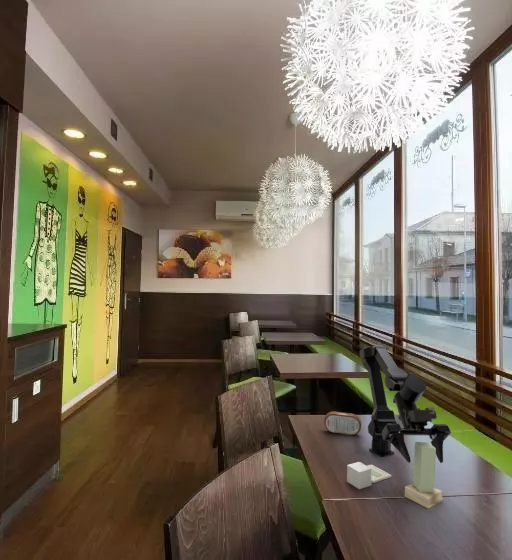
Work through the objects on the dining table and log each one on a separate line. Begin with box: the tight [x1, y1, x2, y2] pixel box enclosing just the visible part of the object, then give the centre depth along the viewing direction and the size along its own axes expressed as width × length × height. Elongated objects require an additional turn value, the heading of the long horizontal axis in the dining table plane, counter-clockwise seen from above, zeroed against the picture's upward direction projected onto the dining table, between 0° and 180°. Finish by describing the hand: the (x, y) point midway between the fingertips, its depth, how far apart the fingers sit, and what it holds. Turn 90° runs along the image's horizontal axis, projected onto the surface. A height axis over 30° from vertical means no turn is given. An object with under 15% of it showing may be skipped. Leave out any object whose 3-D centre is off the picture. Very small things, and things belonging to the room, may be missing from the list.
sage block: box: [412, 441, 437, 492], centre depth 102 cm, size 4×4×12 cm
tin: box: [323, 411, 362, 436], centre depth 149 cm, size 15×3×8 cm, turn 74°
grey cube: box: [346, 461, 372, 490], centre depth 109 cm, size 5×5×5 cm
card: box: [367, 464, 392, 484], centre depth 115 cm, size 8×8×1 cm
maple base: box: [404, 482, 443, 509], centre depth 102 cm, size 7×7×3 cm
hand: (425, 462), depth 101 cm, fingers open, 9 cm apart
